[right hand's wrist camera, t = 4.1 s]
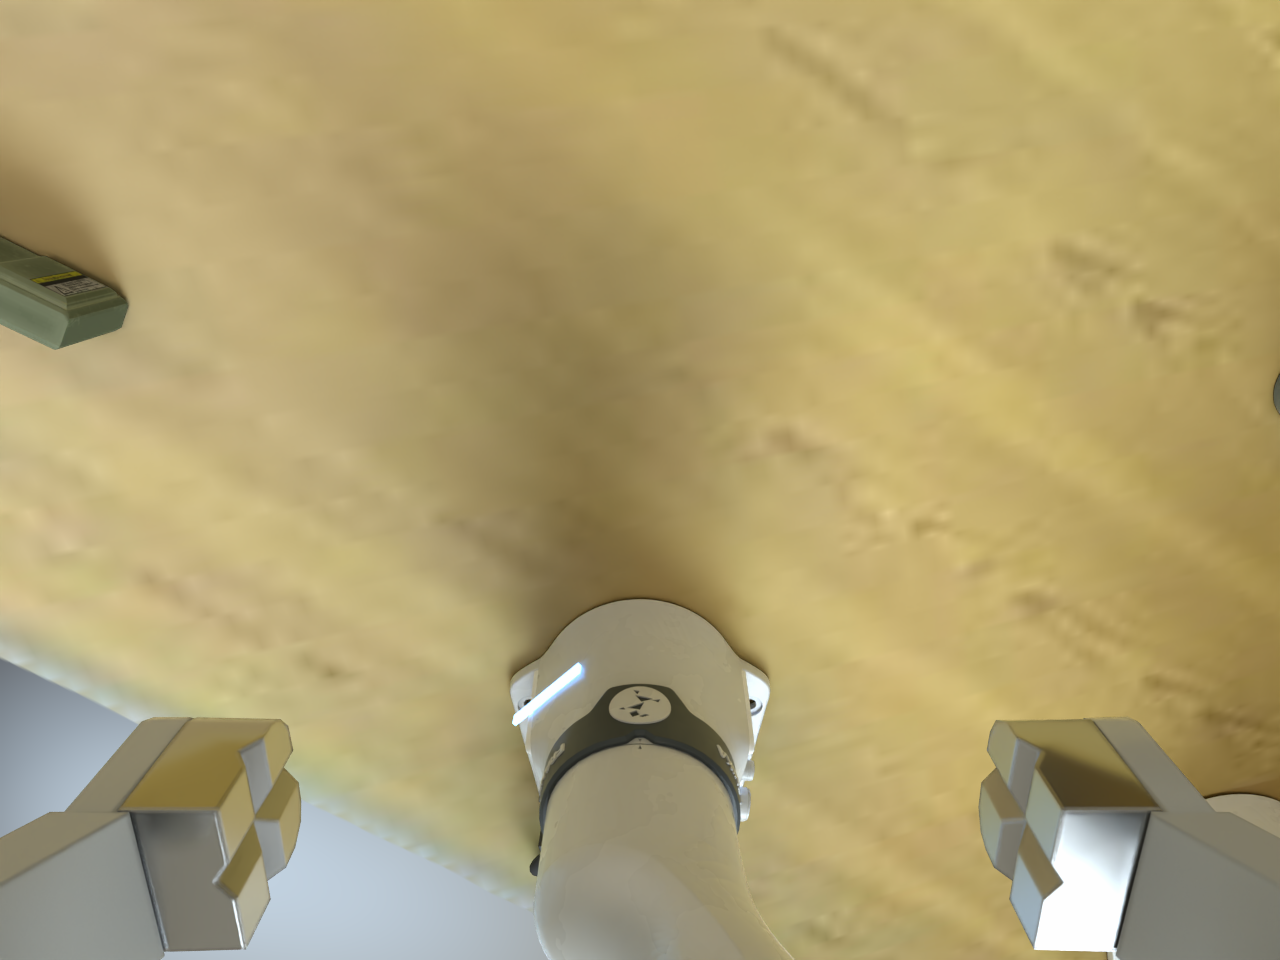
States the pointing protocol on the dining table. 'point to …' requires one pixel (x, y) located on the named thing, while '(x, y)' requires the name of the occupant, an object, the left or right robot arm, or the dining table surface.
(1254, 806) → the left robot arm
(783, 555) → the dining table surface
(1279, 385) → the bottle
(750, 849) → the dining table surface
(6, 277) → the handheld radio
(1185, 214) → the dining table surface
